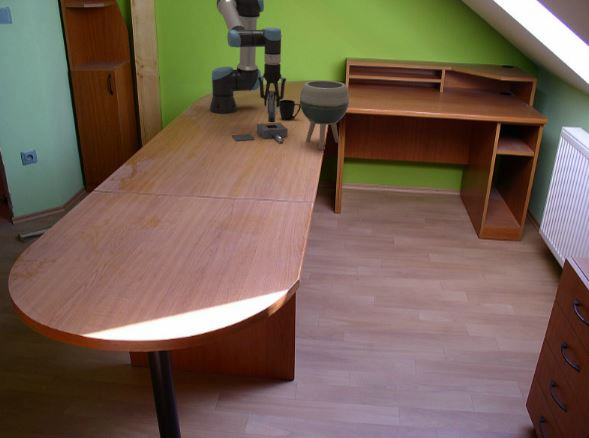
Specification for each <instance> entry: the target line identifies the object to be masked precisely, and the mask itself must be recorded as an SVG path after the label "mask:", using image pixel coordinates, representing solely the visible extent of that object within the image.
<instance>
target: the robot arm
mask: <svg viewBox="0 0 589 438" xmlns="http://www.w3.org/2000/svg"><path fill="white" fill-rule="evenodd" d="M216 8H217V11H218V12H219V14H220V15H221V16H222V18H223V20H224V22H225V25H226V28H227V29H228V31H227V36H226V37H227V45H228V46H229V47H230V48H239V63H238V64H237V65H236V69H234V68H233V66H222V67H221V66H220V67H217V68H214V69H213V70H212V71H211V85H212V86H211V87H212V97H211V100H210V104H209V111H210V112H212V113H215V114H217V113H218V114H230V113H235V112H237V111H238V106H237V103H236V99H235V97H234V96H235V95H234V92H242V91H243V92H245V91H246V92H250V91H251V92H252V91H256V90H258V89H259V94H260V98H261V99H263V101H264V103H263V105H264V107H266V109H265V112H266V114H267V115H268V93H269V91H270V87H271V84H273V86H274V91H275V94H276V100H275V115H277V114H278V108H279V105H280V101H281V100H284V95H285V86H286V85H285V84H286V81H287V78H286V77H284V76H282V73H281V69H282V68H281V64H280V63H282V62H281V61H282V60H281V59H282V58H281V57H282V56H281V55H282V29H281V28H279V27H273V26H272V27H266V28H262V29H257V28H258V27H257V23H258V19H259V18H260V16H261V13H262V12H264V9H265V4H264V0H216ZM260 47H261V48H264V54H263V55H264V59H263V60H264V65H263V66H264V70H263V75H262V73H261V70H260V69H259V68H258V67H259V66H258V65H257V64H256V56H257V55H256V54H257V53H256V51H257V50H256V48H260ZM264 81H266V84H265V88H264ZM279 81H280V82H281V86H280V89H279Z"/></svg>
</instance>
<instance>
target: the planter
mask: <svg viewBox="0 0 589 438" xmlns="http://www.w3.org/2000/svg"><path fill="white" fill-rule="evenodd" d="M299 104H300V106H301V108H300V110H301V112H302V114H303V116H305V118H306V119H307V120H308V121H309V127H308V132H307V135H306V139H305V140H306V142H310V141H311V138H312V135H313V133H314V130H315V126H316V125H319V145H318V147H319V150H321V151H322V150H324V149H325V140H326V139H325V137H326V127H327V125H330V126H331V127H330V128H331V131H332V135H333V138H334V139H333V140H334V143H340V138H339V134H338V127H337V123H338V122H339V121H341V120H342V118H344V116H345V114H346V113H347V110H348V107H349V105H350V94H349V89H348V87H347V86H346V84H345V83H343V82H340V81H335V80H323V79H322V80H320V79H319V80H310V81H306V82H305V83H304V84H303V86H302V88H301V90H300V94H299Z"/></svg>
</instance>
